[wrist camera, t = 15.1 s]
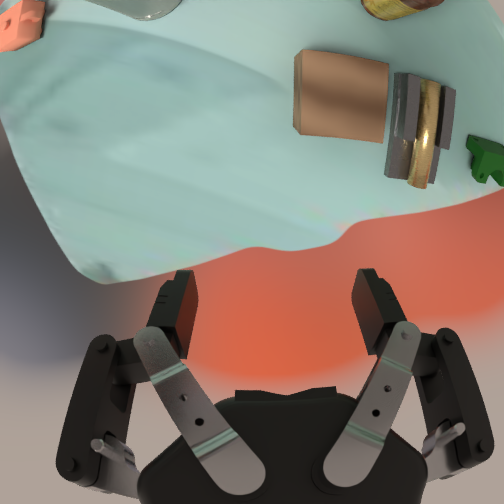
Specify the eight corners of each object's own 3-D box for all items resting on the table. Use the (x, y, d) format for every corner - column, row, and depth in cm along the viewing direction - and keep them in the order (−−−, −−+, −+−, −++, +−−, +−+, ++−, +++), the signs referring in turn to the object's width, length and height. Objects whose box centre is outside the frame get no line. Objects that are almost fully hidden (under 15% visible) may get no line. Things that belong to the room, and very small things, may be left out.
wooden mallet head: (294, 57, 29) (302, 49, 22) (366, 66, 28) (388, 63, 22) (293, 126, 34) (300, 134, 28) (362, 132, 34) (382, 143, 28)
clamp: (455, 154, 38) (465, 178, 32) (462, 127, 33) (476, 147, 28) (502, 175, 34) (516, 201, 28) (511, 149, 29) (528, 173, 24)
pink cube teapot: (14, 21, 19) (-14, 22, 12) (57, -2, 19) (27, -7, 12) (10, 55, 23) (-20, 59, 16) (51, 35, 23) (19, 34, 16)
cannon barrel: (415, 78, 27) (428, 79, 24) (431, 83, 27) (445, 85, 24) (403, 180, 36) (414, 187, 33) (419, 181, 36) (430, 189, 33)
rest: (394, 73, 28) (407, 73, 25) (441, 88, 28) (456, 90, 25) (383, 174, 37) (394, 183, 34) (429, 180, 37) (441, 189, 34)
